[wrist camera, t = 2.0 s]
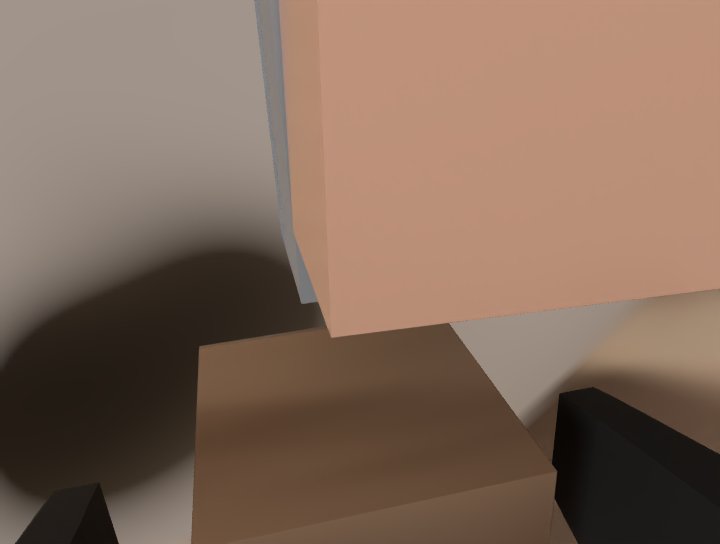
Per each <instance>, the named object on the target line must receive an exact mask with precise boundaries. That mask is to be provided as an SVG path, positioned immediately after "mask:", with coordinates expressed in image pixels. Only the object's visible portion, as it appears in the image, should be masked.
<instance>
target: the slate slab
mask: <svg viewBox="0 0 720 544" xmlns="http://www.w3.org/2000/svg"><path fill="white" fill-rule="evenodd" d="M254 2H255V11H256V20H257V28H258V36H259V46H260V54H261V63H262V70H263V79H264V88H265V97H266V105H267V114H268V122H269V131H270V139H271V148H272V157H273V165H274V174H275V181H276V191H277V199H278V208H279V216H280V225H281V233H282V237H283V241H284V244H285V248H286V251H287V255H288V258H289V262H290V265H291V268H292V272H293V275H294V279H295V282H296V286H297V289H298V292H299V296H300V299H301V303H302V304H304V303H311V302H318V299H317V297H316V294H315V291H314V288H313V286H312V283H311V280H310V277H309V274H308V272H307V269H306V266H305V263H304V261H303V258H302V255H301V252H300V249H299V247H298V244H297V241H296V238H295V235H294V230H293V215H292V200H291V185H290V169H289V154H288V139H287V123H286V108H285V93H284V77H283V62H282V47H281V32H280V16H279V1H278V0H254Z"/></svg>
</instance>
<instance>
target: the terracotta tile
mask: <svg viewBox="0 0 720 544" xmlns="http://www.w3.org/2000/svg"><path fill="white" fill-rule="evenodd" d="M278 1H279V16H280V32H281V47H282V62H283V77H284V93H285V108H286V123H287V139H288V154H289V169H290V185H291V200H292V215H293V230H294V235H295V238H296V241H297V244H298V247H299V249H300V252H301V255H302V258H303V261H304V263H305V266H306V269H307V272H308V274H309V277H310V280H311V283H312V286H313V288H314V291H315V294H316V297H317V299H318V302H319V305H320V308H321V311H322V313H323V316H324V319H325V322H326V325H327V327H328V330H329V333H330V336H331V338H333V337H341V336H349V335H357V334H365V333H372V332H380V331H388V330H396V329H404V328H412V327H420V326H428V325H436V324H444V323H451V322H459V321H467V320H474V319H482V318H491V317H499V316H506V315H515V314H522V313H531V312H538V311H546V310H554V309H562V308H570V307H578V306H586V305H593V304H601V303H609V302H617V301H625V300H633V299H641V298H649V297H657V296H665V295H673V294H681V293H689V292H697V291H704V290H712V289H720V0H278Z"/></svg>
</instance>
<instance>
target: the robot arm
mask: <svg viewBox="0 0 720 544" xmlns="http://www.w3.org/2000/svg"><path fill="white" fill-rule="evenodd" d="M552 465H553V466H554V468H555V469H556V471H557V477H556V486H555V495H554V498H555V500H556V502H557V504H558V506H559V508H560V510H561V512H562V514H563V516H564V518H565V520H566V522H567V523H568V525H569V527H570V529H571V531H572V533H573V535H574V537H575V538H576V540H577V542H578V544H720V454H718V453H716V452H714V451H713V450H711V449H709V448H707V447H705V446H703V445H701V444H699V443H698V442H696V441H694V440H692V439H690V438H688V437H686V436H685V435H683V434H681V433H679V432H677V431H675V430H674V429H672V428H670V427H668V426H666V425H664V424H663V423H661V422H659V421H657V420H655V419H653V418H652V417H650V416H648V415H646V414H644V413H642V412H641V411H639V410H637V409H635V408H633V407H631V406H629V405H628V404H626V403H624V402H622V401H620V400H618V399H616V398H614V397H612V396H610V395H608V394H606V393H604V392H602V391H600V390H598V389H596V388H594V387H591V388H586V389H581V390H576V391H570V392H565V393H560V394H559V403H558V412H557V421H556V431H555V440H554V450H553V459H552ZM15 544H119V543H118V540H117V537H116V534H115V531H114V528H113V524H112V521H111V518H110V515H109V512H108V509H107V505H106V502H105V499H104V496H103V493H102V490H101V487H100V484H99V483H94V484H89V485H83V486H78V487H73V488H68V489H62V490H58V491H54V492H53V493H52V495H51V496H50V497H49V498H48V499H47V501H46V502H45V503H44V505H43V506H42V507H41V509H40V510H39V511H38V513H37V514H36V516H35V517H34V518H33V520H32V521H31V523H30V524H29V525H28V526H27V528H26V529H25V531H24V532H23V534H22V535H21V536H20V538H19V539H18V540H17V542H16V543H15Z"/></svg>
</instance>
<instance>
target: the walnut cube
mask: <svg viewBox="0 0 720 544" xmlns="http://www.w3.org/2000/svg"><path fill="white" fill-rule="evenodd" d="M556 477H557V471H556V469H555V468H554V466H553V465H552V464H551V462H550V461H549V460H548V458H547V457H546V455H545V454H544V453H543V451H542V450H541V449H540V447H539V446H538V445H537V443H536V442H535V440H534V439H533V438H532V436H531V435H530V434H529V432H528V431H527V430H526V428H525V427H524V425H523V424H522V423H521V421H520V420H519V419H518V417H517V416H516V415H515V413H514V412H513V411H512V409H511V408H510V406H509V405H508V404H507V402H506V401H505V400H504V398H503V397H502V395H501V394H500V393H499V391H498V390H497V389H496V387H495V386H494V384H493V383H492V382H491V380H490V379H489V378H488V376H487V375H486V374H485V372H484V371H483V369H482V368H481V367H480V365H479V364H478V363H477V361H476V360H475V359H474V357H473V356H472V354H471V353H470V352H469V350H468V349H467V348H466V347H465V345H464V344H463V342H462V341H461V339H460V338H459V337H458V335H457V334H456V333H455V331H454V330H453V328H452V327H451V326H450V324H449V323H444V324H436V325H428V326H420V327H412V328H404V329H396V330H388V331H380V332H372V333H365V334H357V335H349V336H341V337H333V338H331V336H330V333H329V330H328V327H327V326H324V327H317V328H311V329H305V330H298V331H292V332H287V333H280V334H274V335H267V336H261V337H254V338H248V339H242V340H236V341H230V342H223V343H217V344H211V345H205V346H199V369H198V393H197V417H196V442H195V466H194V490H193V514H192V538H191V544H549V540H550V531H551V522H552V513H553V504H554V495H555V486H556Z"/></svg>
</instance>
